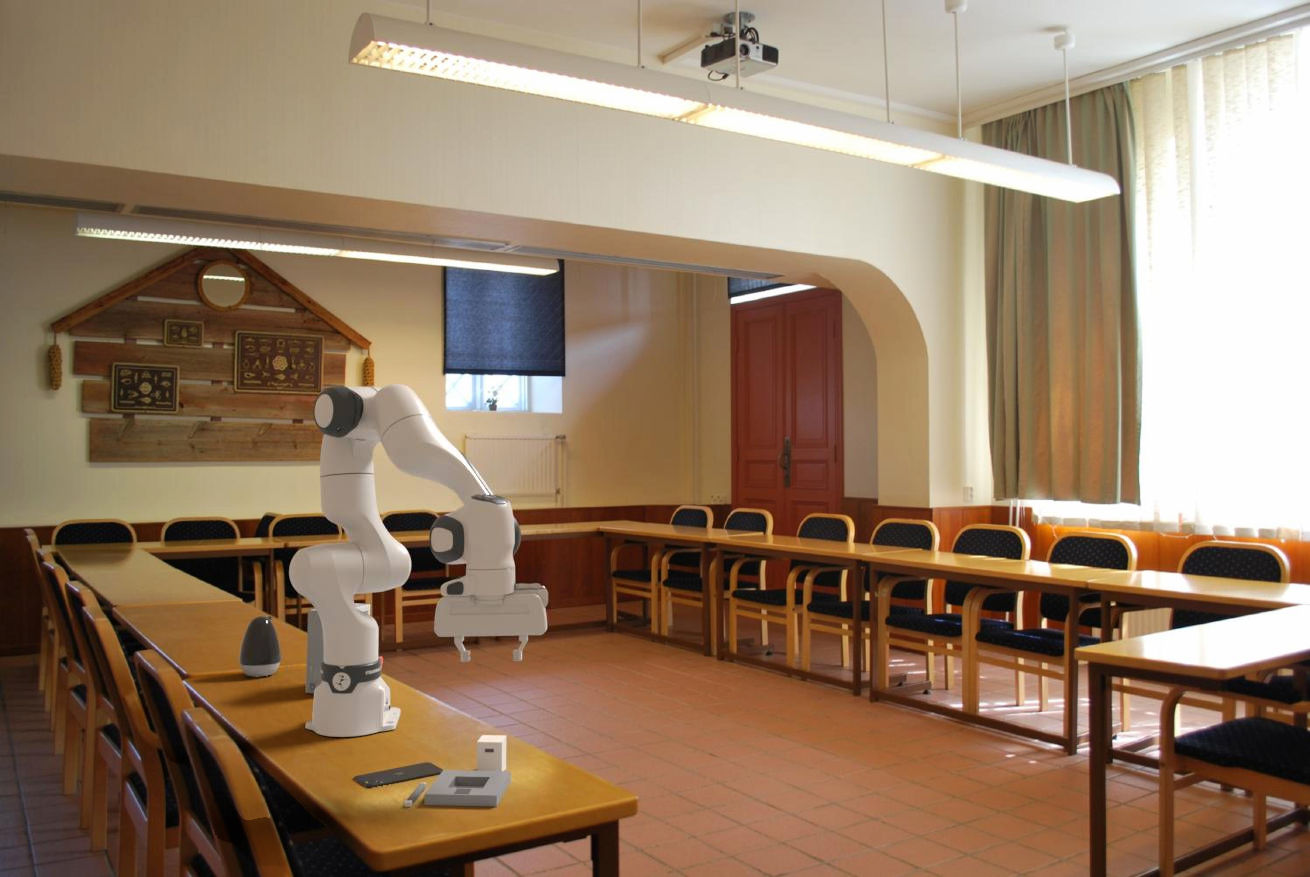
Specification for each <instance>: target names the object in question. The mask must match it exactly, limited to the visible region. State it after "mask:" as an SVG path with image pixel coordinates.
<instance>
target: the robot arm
mask: <svg viewBox="0 0 1310 877" xmlns="http://www.w3.org/2000/svg"><path fill="white" fill-rule="evenodd" d="M313 420H314V423H315V425H316V427H317V429H318V431H320V432H321V433H322V434H323V436H322V442H321V447H320V456H319V457H320V458H319V478H320V479H319V481H320V482H319V483H320V503H321V504H320V505H321V511H322V514H323V515H324V518H326V519H327V520H328V521H330V522H331V523H333V524H335V525H337V526H340V527H341V528H342V529H343V531H344V532H345V534H346V536H347V539H348V541H347V542H346V541H345V542H331V543H330V542H328V543H327V542H326V543H319V544H314V545H311V546H307V547H304V548H300V549H299V550H298V551H296V553H295V554H294V555H293V557H292V559H291V561H290V564H289V570H288V576H289V580H290V583H291V585H292V587H293V588H294V590H295V591H296V592H297V593H298V594H299V595H300V596H302V597H304V598H305V599H306V600H307V601H308V602H309V603H310V604H311V605H312V606H313V607H314V608H313V609H316V611H317V613H318V615H319V617H320V620H321V624H322V630H323V650H324V661H323V662H322V663H321V679H322V682H321V684H320V685H319V686H317V688H315V690H314V694H313V701H312V702H313V704H312V716H311V717H312V718H311V720H309V721H307V722H305V729H306V730H309V731H310V730H311V731H313V732H315V733H316V734H317V735H321V736H326V737H332V738H333V737H335V738H336V737H339V738H347V737H360V736H367V735H370V734H375V733H378V732H386V731H393V730H395V729H396V728H397V725H398V723H399V719H400V717H401V713H402V712H401V708H400V707H396V706H391V688H390V687H389V686H388V684H387V683H386V682H385V680H384V679H383V678H382V674H383V673H382V666H383V664H384V658H383V656H379V625H378V622H377V620H376V619H375V618H374V617H373V616H372V615H371V614H370V615H369V614H367V613H365V612H363V611H360V610H358V609H357V608H356V606H355V604H354V603H355V599H354V598H355V596H354V595H358V594H359V595H362V594H370V593H372V594H373V593H381V592H386V591H389V590H393V589H397V588H399V587H402V586H403V585H405V583H406V582H407V581H408V579H409V577H410V574H411V571H412V559H411V555H410V553H409V551H408V549H407V548H406V547H405V546H404V545H403V544H402V543H401V542H400V541H398V540H396V538H395V537H394V536H392V534H390V532H389V530H388V529H387V528H386V526H385V525H384V523H383V520H382V519H381V514H380V512H379V509H378V502H377V494H376V483H375V481H376V480H375V479H376V478H375V465H374V450H375V448H376V446H377V444H379V442H380V443H381V444H382V447H383V449H384V451H385V453H386V455H387V457H388V459H389V460H390V461H391V463H392V464H393V465H394V466H395V467H396V468H397V469H398V470H399V471H401V472H402V473H404V474H407V475H409V476H411V477H415V478H416V477H417V478H420V479H423V480H424V479H425V480H428V481H431V482H434V483H437V484H440V485H443V486H444V487H447V488H448V489H450V490H451V491H452V492H454V493H455V494H456V496H457V497H458V499H459V500H460V501H461V503H462V506H460V507H459V508H457V509H455V510H453V511H451V512H449V513H446V514H442V515H440V516H438V517H437V518H436V519H435V521H433V524H432V525H431V527H430V531H429V540H428V541H429V547H430V550H431V553H432V554H433V556H434V557H435V559H436V560H438V562H441V563H442V564H448V565H464V564H466V567H465V575H464V576H458V577H456V578H455V579H451V580H449V581H447V582H444V583H443V584H442V585H441V586H440V594H441V596H442V597H441V598H440V599H438V602H436V606H435V607H436V608H435V614H434V623H433V624H434V625H433V627H434V629H433V631H434V633H435V635H436V636H437V637H439V638H441V637H442V638H443V637H444V638H446V637H447V638H449V637H450V638H451V637H454V638H453V639H454V640H453V643H454V645H455V646H456V648H457V650H458V652H459V653H460V662H462V663H463V662H470V661H471V656H470V655H471V650H469V649H468V650H467V649H466V648H465V646H464V644H463V642H464V641H465V637H499V636H500V637H502V636H510V637H511V636H518V641H519V642H521V644H520V645H519V647H518V649H513V651H512V655H513V657H512V661H514V662H515V661H522V660H523V650H524V648H525V646H526V644H527V643H528V642H529V636H542V635H544V633H545V632H547V630H548V617H547V609H546V607H547V606H548V604H549V591H548V589H547V588H546V587H545V586H544V585H541V584H540V583H537V582H534V583H521V582H520V583H519V582H518V583H516V564H515V560H514V556H515V554H516V553H517V552H518V550H519V549H520V545H521V541H522V530H521V526H520V525H519V522H518V521H517V518H515V516H514V513H513V508H512V505H511V502H510V500H509V499H507V498H505V497H503V496H500V495H497V494H496V495H495V494H494V492H492V490H491V488H490V487H489V485H488V484H487V483H486V481H485V480H484V479H483V477H482V476H481V474H480V472H479V471H478V470H477V469H476V467H475V466H474V464H473V463H472V462H471V460H470V459H469V458H468V457H467V456H466V455H465V454H464V453H463V452H462V451H461V450H459V449H458V448H456V446H455V445H453V444H452V443H451V441H449V440H448V439H447V437H446V436H445V435H444V434H443V433H442V431H441V430H440V429H439V427H438V426H437V424H436V422H435V420H434V418H433V417H432V415H431V412H429V409H428V408H427V407H426V405H425V404H424V402H423V401H422V400H421V398H420V397H419V396H418V395H417V393H416V392H415V391H414V390H413V389H412V387H410V386H407V385H406V384H402V383H393V384H388V385H386V386H383V387H379V386H373V385H372V386H371V385H366V386H345V385H334V386H330V387H326V388H323V389H322V390H321V391H320V392H319V394H318V395H317V397H316V399H315V400H314V406H313Z"/></svg>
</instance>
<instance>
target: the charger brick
mask: <svg viewBox="0 0 1310 877" xmlns="http://www.w3.org/2000/svg"><path fill="white" fill-rule="evenodd" d="M506 769H507V735H506V734H505V735H502V734H501V735H499V734H498V735H494V734H493V735H492V734H490V735H489V734H482V735H481V736H480V737H479V739H478V740H477V741H476V770H477V771H504V770H505V771H506Z"/></svg>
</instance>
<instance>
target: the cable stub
mask: <svg viewBox="0 0 1310 877" xmlns="http://www.w3.org/2000/svg"><path fill="white" fill-rule="evenodd" d="M427 784H428V783H427V782H420V783H419V784H418V785H417V787H416V788H415V789H414V790H413V791H412V792H411V794H410V795H409V797H408V798H406V799H405V801H404V805H403V806H404V808H409V807H410V808H411V807H412V806H413V805H414V803H415V802H416V800H418V798H419V797H420V795H421V794H422V793H423V792H424V790H425V789H426V788H427V787H428V786H427Z"/></svg>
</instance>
